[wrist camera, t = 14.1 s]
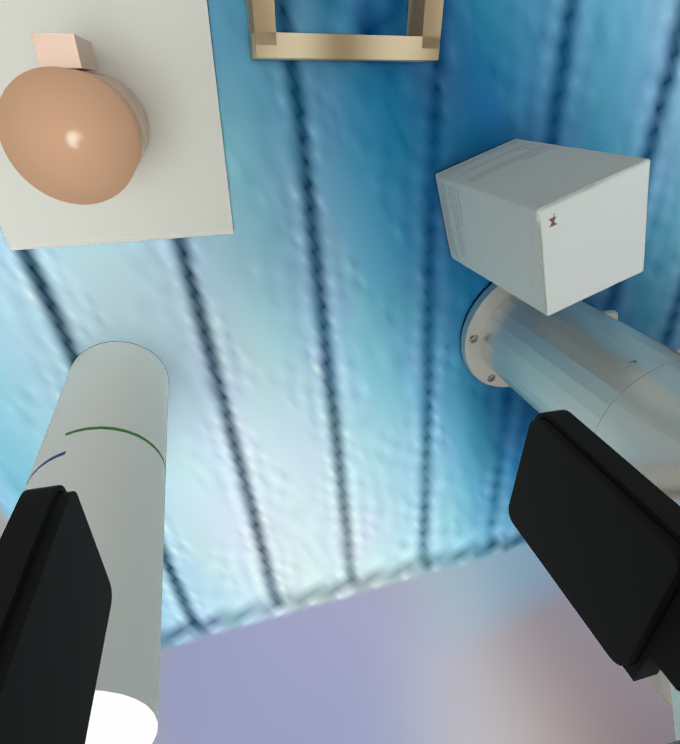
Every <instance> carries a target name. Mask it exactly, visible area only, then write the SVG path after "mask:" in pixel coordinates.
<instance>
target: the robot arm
mask: <svg viewBox="0 0 680 744" xmlns="http://www.w3.org/2000/svg"><path fill="white" fill-rule="evenodd" d="M461 353H462V358H463V361H464V363H465V365H466V367H467V368H468V369H469V371H470V372H471V373H472V374H473V375H474V376H475V377H476V378H477V379H479V380H480V381H481V382H483V383H485V384H487V385H490V386H495V387H511V388H512V389H513V390H515V391H516V392H517V393H518V394H519V395H520V396H521V397H522V398H523V399H524V400H526V401H527V402H528V403H529V404H530V405H531V406H532V407H533V408H534V409H536V410H537V411H538V412H539V414H538V415H537V416H536V418H535V420H534V421H532V422H531V423H530V426H529V429H528V433H527V437H526V441H525V445H524V449H523V453H522V457H521V460H520V464H519V468H518V472H517V476H516V480H515V484H514V488H513V492H512V496H511V500H510V504H509V515H510V518H511V521H512V522H513V524H514V525H515V527H516V528H517V530H518V531H519V532H520V534H521V535H522V536H523V538H524V539H525V541H526V542H527V543H528V545H529V546H530V548H531V549H532V550H533V552H534V553H535V554H536V556H537V557H538V558H539V560H540V561H541V563H542V564H543V565H544V567H545V568H546V570H547V571H548V572H549V574H550V575H551V577H552V578H553V579H554V581H555V582H556V583H557V585H558V586H559V588H560V589H561V590H562V592H563V593H564V595H565V596H566V597H567V599H568V600H569V601H570V603H571V604H572V606H573V607H574V608H575V610H576V611H577V612H578V614H579V615H580V617H581V618H582V619H583V621H584V622H585V624H586V625H587V626H588V628H589V629H590V631H591V632H592V633H593V635H594V636H595V637H596V639H597V640H598V642H599V643H600V644H601V646H602V647H603V649H604V650H605V651H606V653H607V654H608V655H609V657H610V658H611V659H612V660H613V661H614V662H615V663H616V664H618V665H620V666H623V667H624V668H625V670H626V671H627V672H628V674H629V675H630V677H631V678H632V679H633V681H636V680H640V679H643V678H644V679H645V680H646V681H647V682H648V683H649V685H650V686H651V687H652V688H653V689H654V690H655V691H656V693H657V694H658V695H659V696H660V697H661V698H662V699H663V700H664V701H665V702H666V703H667V704H668V705H669V706H670V707H671V708H672V709H673V716H674V726H675V735H676V741H675V742H672V743H670V744H680V506H679V505H678V504H677V503H675V502H674V501H673V500H680V353H678V352H676V351H674V350H673V349H671V348H669V347H667V346H665V345H663V344H661V343H659V342H658V341H656V340H654V339H652V338H650V337H648V336H646V335H644V334H643V333H641V332H639V331H637V330H635V329H633V328H631V327H630V326H628V325H626V324H624V323H622V322H620V321H618V314H617V312H616V311H615V310H612V309H611V310H604V311H600V310H598V309H596V308H594V307H592V306H590V305H588V304H586V303H585V302H583V301H582V300H581V301H579V302H576V303H574V304H572V305H570V306H568V307H566V308H564V309H562V310H560V311H558V312H556V313H554V314H552V315H549V316H547V315H545V314H544V313H542V312H540V311H539V310H537V309H535V308H534V307H532V306H530V305H529V304H527V303H526V302H524V301H522V300H521V299H519V298H517V297H516V296H514V295H512V294H511V293H509V292H507V291H506V290H504V289H502V288H501V287H499V286H498V285H496V284H494V283H492V284H491V285H490V286H489V287H488V288H487V289H486V290H485V291H484V292H483V293H482V294H481V295H480V297H479V298H478V299H477V300H476V302H475V303H474V305H473V306H472V308H471V310H470V312H469V314H468V315H467V318H466V321H465V323H464V326H463V330H462V335H461ZM672 499H673V500H672ZM111 603H112V589H111V584H110V581H109V578H108V576H107V573H106V570H105V567H104V565H103V562H102V559H101V557H100V554H99V551H98V549H97V546H96V543H95V540H94V538H93V535H92V532H91V530H90V527H89V524H88V521H87V519H86V516H85V513H84V511H83V508H82V505H81V503H80V500H79V497H78V495H77V493H76V492H75V491H69V492H67V491H66V489H65V487H64V486H62V485H55V486H48V487H42V488H35V489H28V490H25V491H24V492H23V493H22V494H21V496H20V498H19V500H18V502H17V504H16V507H15V509H14V511H13V513H12V515H11V517H10V519H9V521H8V524H7V526H6V528H5V530H4V532H3V534H2V536H1V538H0V744H85V741H86V736H87V731H88V725H89V720H90V715H91V709H92V704H93V699H94V693H95V688H96V683H97V678H98V672H99V667H100V662H101V656H102V651H103V646H104V641H105V635H106V630H107V625H108V619H109V614H110V609H111Z"/></svg>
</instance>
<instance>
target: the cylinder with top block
mask: <svg viewBox="0 0 680 744" xmlns="http://www.w3.org/2000/svg"><path fill="white" fill-rule="evenodd" d="M31 36H32V39H33V43H34V46H35V50H36V54H37V57H38V61H39V64H40V67H39V68H34V69H31V70H28V71H26V72H24V73H22V74H20V75H19V76H17V77H16V78H15V79H14V80H12V81H11V82H10V83H9V85H8V86H7V87H6V88H5V90H4V92H3V94H2V96H1V98H0V142H1V145H2V147H3V149H4V152H5V154H6V155H7V157H8V159H9V161H10V162H11V164H12V165H13V166H14V168H15V169H16V170H17V171H18V173H19V174H20V175H21V176H22V177H23V178H24V179H25V180H26V181H27V182H28V183H30V184H31V185H32V186H33V187H35V188H36V189H38V190H39V191H41V192H42V193H44V194H46V195H48V196H50V197H52V198H54V199H57V200H60V201H63V202H67V203H71V204H79V205H89V204H97V203H101V202H104V201H107V200H109V199H111V198H113V197H114V196H116V195H118V194H119V193H120V192H121V191H122V190H123V189H124V188H125V187H126V186H127V185H128V183H129V182H130V180H131V179H132V177H133V175H134V173H135V171H136V169H137V167H138V165H139V163H140V161H141V159H142V157H143V155H144V153H145V151H146V148H147V145H148V142H149V123H148V119H147V116H146V113H145V111H144V109H143V107H142V105H141V103H140V102H139V100H138V98H137V97H136V96H135V95H134V94H133V92H132V91H131V90H130V89H129V88H127V87H126V86H125V85H124V84H122V83H121V82H119V81H118V80H116V79H114V78H112V77H110V76H107V75H104V74H100V73H95V72H89V71H98V69H97V64H96V60H95V55H94V51H93V46H92V43H91V42H89V41H87V40H85V39H83V38H81V37H79V36H77V35H75V34H63V33H31Z"/></svg>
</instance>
